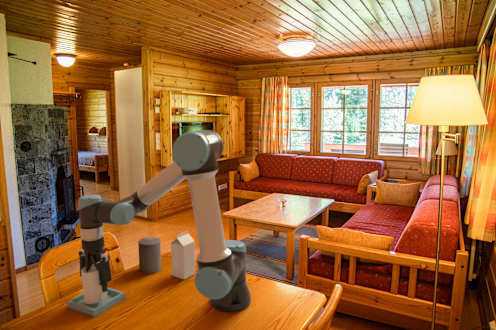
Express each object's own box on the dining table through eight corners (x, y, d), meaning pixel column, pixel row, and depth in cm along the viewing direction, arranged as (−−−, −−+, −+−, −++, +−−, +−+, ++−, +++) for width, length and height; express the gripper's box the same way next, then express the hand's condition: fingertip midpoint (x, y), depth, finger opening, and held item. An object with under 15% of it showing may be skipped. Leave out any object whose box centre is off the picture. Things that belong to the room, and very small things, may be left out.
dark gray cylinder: (134, 272, 155) (133, 240, 152) (147, 263, 164) (146, 232, 162) (154, 275, 152) (152, 242, 150) (165, 266, 161) (164, 235, 159)
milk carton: (195, 273, 153) (194, 232, 150) (184, 280, 147) (183, 237, 145) (183, 269, 157) (182, 229, 154) (172, 276, 151) (170, 234, 148)
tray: (125, 298, 133) (124, 292, 132) (94, 317, 120) (94, 311, 120) (99, 290, 139) (98, 284, 138) (67, 307, 126) (67, 301, 126)
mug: (96, 305, 124) (93, 273, 122) (79, 303, 125) (76, 272, 123) (112, 291, 134) (110, 261, 132) (96, 290, 135) (94, 260, 133)
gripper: (120, 238, 125) (123, 298, 128) (83, 230, 133) (87, 287, 137) (103, 245, 118) (107, 308, 122) (65, 236, 127) (70, 295, 130)
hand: (96, 296), depth 129 cm, fingers closed on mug, 6 cm apart
